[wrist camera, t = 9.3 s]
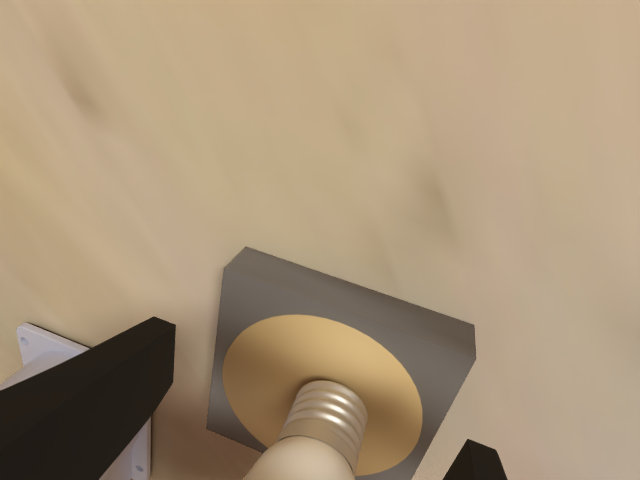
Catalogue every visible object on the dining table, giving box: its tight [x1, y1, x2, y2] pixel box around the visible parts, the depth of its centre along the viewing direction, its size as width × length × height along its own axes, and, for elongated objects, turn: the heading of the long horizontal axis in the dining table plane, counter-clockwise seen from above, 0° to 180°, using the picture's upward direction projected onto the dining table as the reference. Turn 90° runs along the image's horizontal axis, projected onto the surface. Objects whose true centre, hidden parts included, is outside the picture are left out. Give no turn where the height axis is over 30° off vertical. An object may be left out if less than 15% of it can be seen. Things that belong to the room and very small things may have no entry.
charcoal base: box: [206, 247, 476, 480], centre depth 17 cm, size 9×9×2 cm
